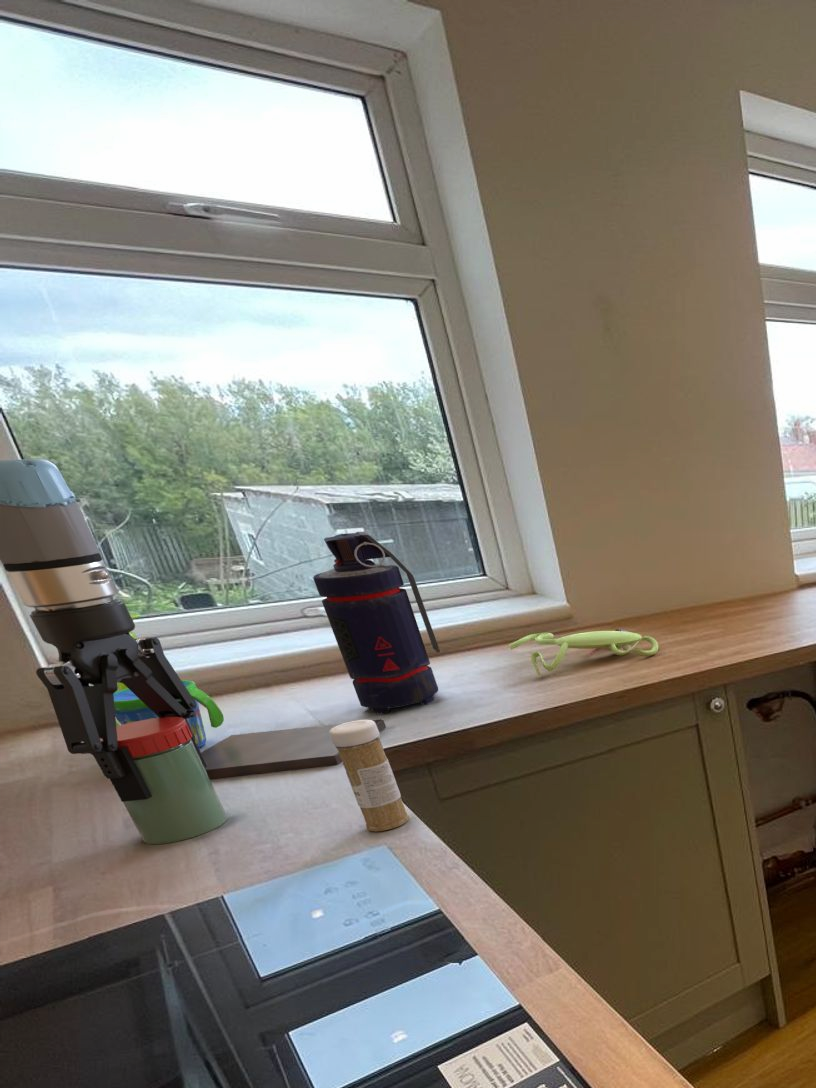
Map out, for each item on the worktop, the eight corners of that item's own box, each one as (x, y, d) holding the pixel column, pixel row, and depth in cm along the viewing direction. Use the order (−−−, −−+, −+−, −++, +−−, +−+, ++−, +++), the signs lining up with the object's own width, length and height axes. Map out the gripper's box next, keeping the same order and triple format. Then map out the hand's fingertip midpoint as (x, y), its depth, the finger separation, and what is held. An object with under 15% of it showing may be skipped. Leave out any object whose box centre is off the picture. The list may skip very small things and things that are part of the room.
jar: (126, 848, 99) (74, 751, 94) (171, 819, 106) (125, 727, 101) (202, 838, 100) (155, 742, 95) (242, 810, 108) (200, 719, 103)
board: (165, 784, 117) (161, 774, 116) (234, 743, 131) (231, 735, 131) (337, 764, 121) (334, 755, 121) (386, 727, 136) (383, 718, 135)
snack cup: (253, 734, 135) (227, 676, 131) (198, 760, 125) (169, 698, 121) (157, 740, 134) (129, 681, 130) (95, 766, 125) (62, 704, 121)
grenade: (366, 719, 140) (300, 542, 128) (359, 703, 148) (296, 536, 136) (458, 699, 148) (404, 531, 136) (446, 685, 156) (395, 526, 144)
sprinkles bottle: (364, 824, 102) (325, 725, 97) (407, 812, 105) (371, 715, 100) (370, 836, 99) (330, 735, 94) (414, 823, 102) (377, 724, 97)
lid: (157, 756, 95) (148, 738, 95) (75, 764, 94) (65, 745, 93) (210, 730, 103) (203, 713, 102) (135, 737, 102) (126, 720, 101)
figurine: (512, 660, 171) (505, 634, 169) (645, 637, 184) (639, 613, 182) (521, 681, 157) (513, 653, 155) (664, 654, 170) (658, 628, 168)
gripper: (25, 622, 83) (130, 818, 92) (182, 582, 102) (257, 748, 111) (-59, 628, 82) (55, 826, 91) (116, 587, 101) (196, 754, 110)
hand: (166, 783), depth 101 cm, fingers closed on lid, 8 cm apart
